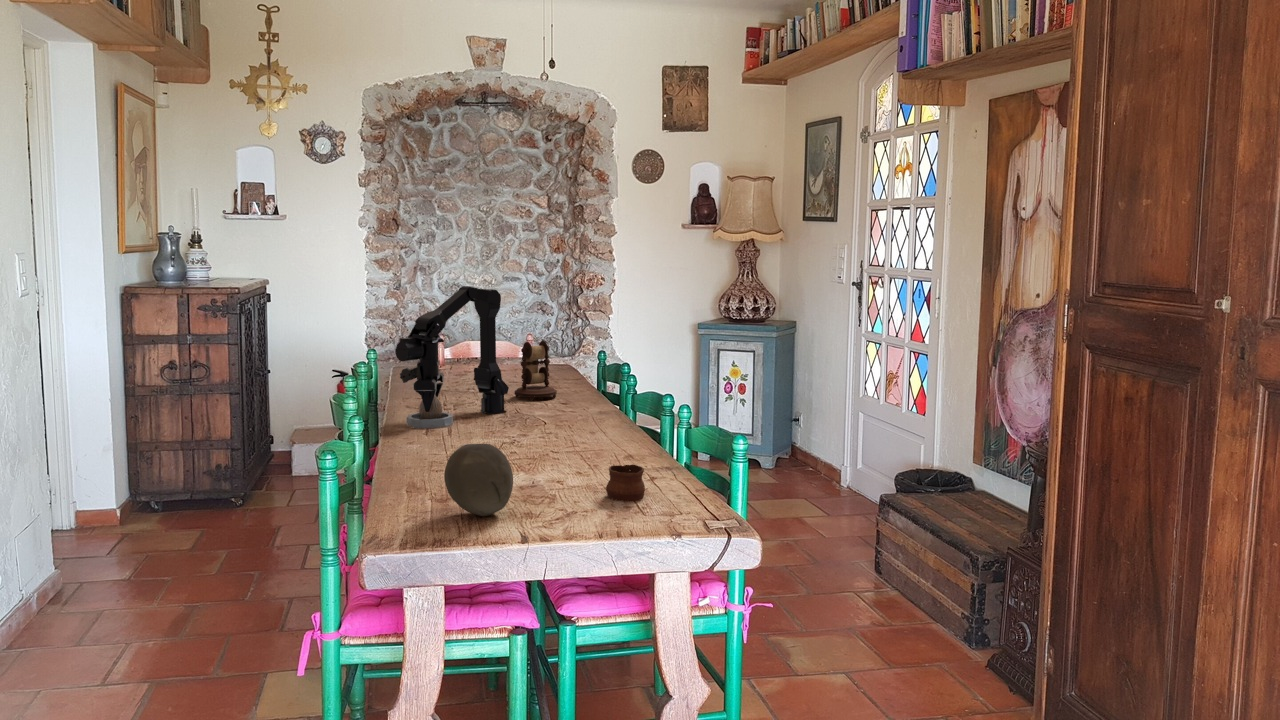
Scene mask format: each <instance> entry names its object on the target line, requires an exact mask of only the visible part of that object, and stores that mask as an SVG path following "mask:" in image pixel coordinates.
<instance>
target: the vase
mask: <svg viewBox="0 0 1280 720" xmlns="http://www.w3.org/2000/svg"><path fill="white" fill-rule="evenodd" d="M441 402H442V401H440V399H439V398H437V397H436V395H435V397H434V400H433V403H432V406H431V409H430V411H429V412H426V411H425V408H424V404H423V401H422V400H421V402H420V403H419V407H418V413H419V415H420V418H421V419H439V418H441V416H442V412H443V406H442V403H441Z"/></svg>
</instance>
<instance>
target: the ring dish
mask: <svg viewBox="0 0 1280 720" xmlns="http://www.w3.org/2000/svg"><path fill="white" fill-rule="evenodd" d="M407 425H408V426H407ZM452 425H454V414H452V413H449V412H445V411H444V412H443V411H442V416H441V418H439V419H421V418H420V415H419V412H414V413H411V414H410V413H409V414H408V415H407V416H406V426H407V427H410V428H413V427H414V428H415V429H437V428H438V429H439V428H446V427H450V426H452Z"/></svg>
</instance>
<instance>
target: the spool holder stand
mask: <svg viewBox="0 0 1280 720" xmlns="http://www.w3.org/2000/svg"><path fill="white" fill-rule="evenodd" d="M520 350H521V361H520V367H521V368H522V370H521V376H520V377H521V379H522V380H521V382H522V384H521V386H520V387H517V388H516V389H515V390H514V395H515V398H518V397H521V398H522V397H524V398H529V399H530V401H531V402H533V401H534V398H545V397H546V398H547V397H552V398H553V399H556V397H557V394H558V393H557V389H555V388H554V387H551V386H549V385H550V381H549V377H550V372H549V371H550V369H549V365H550V364H551V360H550V359H549V358H550V356H549V351H550V346H549V345H548V342H546V341H545V340H541V341H540V342H539V345H532V344H531V343H530V342H529V341H526V342H524V343H523V344H522V348H521V349H520ZM539 365H544V366H540V368H539ZM543 383H544V385H540V384H543ZM537 384H539V385H537Z"/></svg>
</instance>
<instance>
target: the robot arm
mask: <svg viewBox="0 0 1280 720" xmlns="http://www.w3.org/2000/svg"><path fill="white" fill-rule="evenodd" d="M469 302H472V303H473V305H474V309H475V311H476V313H477V315H478V317H479V342H480V343H479V349H480V350H479V351H480V352H479V353H480V355H479V358H480V362H479V363H478V366H477V367H473V375H474V377H473V381H474V383H475V386H477V390H478V392H479V393H480V394H482V398H481V399H480V400H481V401H480V407H481V408H480V412H482V413H485V414H488V415H493V414H494V415H495V414H503V413H504V414H505V413H507V410H505V395H507V394H508V392H509V389H510V388H509V386H508V385H507V383H505V381H504V380H503V376H502V370H501V369H500V368H501V367H500V366H499V364H498V363H497V355H496V354H497V343H496V342H497V341H496V338H497V335H496V334H497V333H496V328H497V327H496V325H497V323H496V317H497V315H498V313H499V311H500V310H501V304H502V294H501V293H500V292H499V291H498V290H497V289H493V288H492V289H489V288H477V287H474V286H473V285H472V286H471V285H462V286H460V287H459V289H458V290H457V291H456V292H454V293H453V294H452V295H451V296H450V297H448V299H446V300H445V301H443V303H441V305H439V306H438V307H437V308H436V309H434V310H431V311H428V312H425V313H424V314H422V315H420V316H418V317H417V318H416V319H415V322H414V325H413V327H412V329H411V330H410V332H409V335H408V336H407V338H406V337H400V338H399V342H397V345H396V347H395V349H394V350H395V351H394V352H395V356H396V358H397V360H398V361H400V362H409V361H416V360H418V362H417V363H416V366H415V367H412V368H409V367H406V368H402V369H401V372H400V373H399V375H400V376H399V378H400V380H401V381H402V383H403V384H406V383H408V382H409V381H411V380H414V379H416V380H415V382H413V391H415V392H416V393H418V394H419V395H420V397H421V399H422V400H421V402H422V401H423V404H424V408H425V411H426V412H429V411H430V409H431V406H432V403H433V400H434V397H435V395H436V397H437V398H438V397H439V395H440V392H441V389H442V388H443V385H444V383H445V374H444V373H442V372H441V371H439V370H440V364H441V360H439V344H440V343H444V342H445V339H443V338H442V337H441V336H440V334H441V333H442V331H443V330H444V329H445V327H446V324H447V322H448V321H449V319H450V318H452V317H453V316H454V315H456V313H458V312H459V311H460V310H461V309H462V308H464V307H465V306H467V304H468V303H469ZM438 399H439V398H438Z"/></svg>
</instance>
